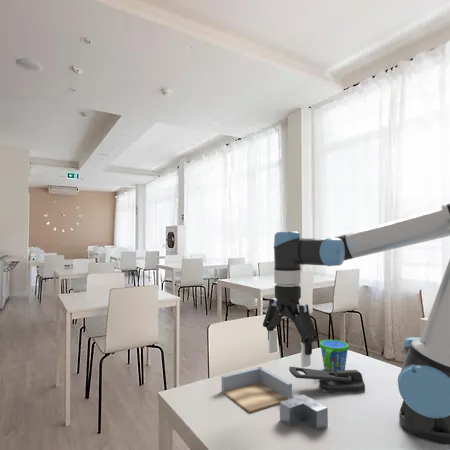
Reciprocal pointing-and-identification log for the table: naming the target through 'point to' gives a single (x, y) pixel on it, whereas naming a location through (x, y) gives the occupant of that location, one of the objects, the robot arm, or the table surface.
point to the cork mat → (255, 396)
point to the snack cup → (334, 354)
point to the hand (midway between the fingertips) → (288, 358)
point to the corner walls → (257, 376)
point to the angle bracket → (304, 412)
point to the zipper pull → (333, 379)
